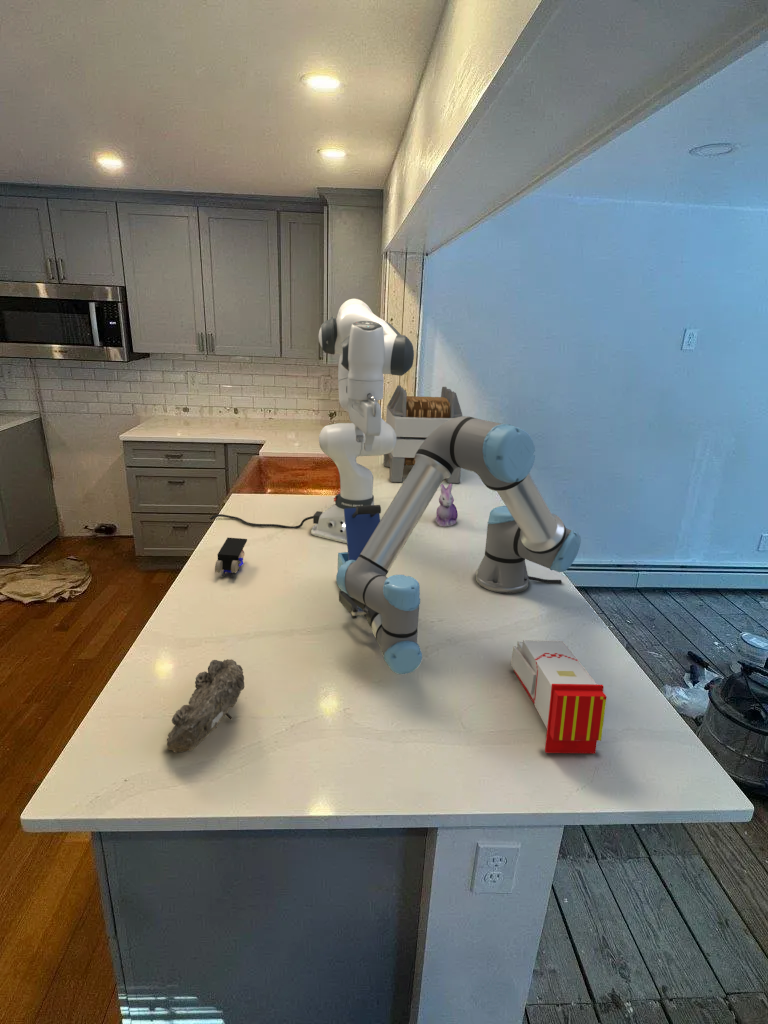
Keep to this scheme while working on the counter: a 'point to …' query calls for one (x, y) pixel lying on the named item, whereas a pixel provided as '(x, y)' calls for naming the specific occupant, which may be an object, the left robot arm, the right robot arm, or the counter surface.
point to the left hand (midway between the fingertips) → (363, 446)
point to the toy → (561, 695)
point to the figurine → (446, 508)
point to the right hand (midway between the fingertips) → (364, 579)
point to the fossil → (206, 705)
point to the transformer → (417, 426)
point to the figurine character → (230, 556)
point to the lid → (360, 527)
